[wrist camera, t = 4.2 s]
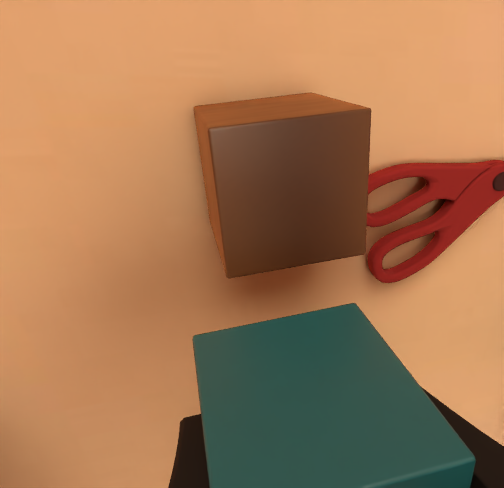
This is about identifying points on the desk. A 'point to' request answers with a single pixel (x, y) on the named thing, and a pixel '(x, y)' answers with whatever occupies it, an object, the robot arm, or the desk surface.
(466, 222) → the scissors
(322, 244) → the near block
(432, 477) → the block
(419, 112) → the desk surface
